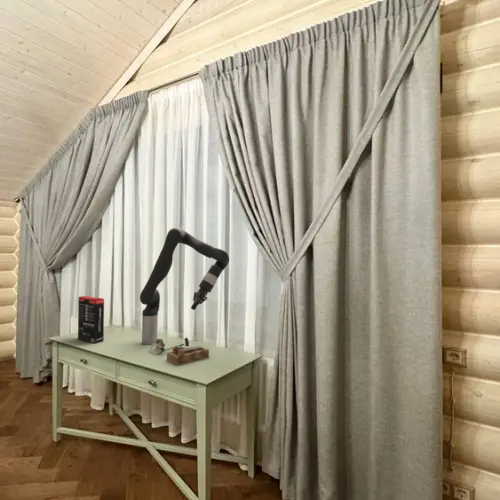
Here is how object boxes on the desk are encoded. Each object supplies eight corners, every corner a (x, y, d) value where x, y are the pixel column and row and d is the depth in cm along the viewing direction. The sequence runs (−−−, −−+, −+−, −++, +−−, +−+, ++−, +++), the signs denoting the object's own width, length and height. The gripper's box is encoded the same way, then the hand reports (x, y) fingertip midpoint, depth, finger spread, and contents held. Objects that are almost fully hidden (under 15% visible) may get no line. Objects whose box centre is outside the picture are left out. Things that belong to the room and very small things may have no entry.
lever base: (197, 352, 190) (197, 341, 190) (208, 356, 183) (208, 344, 183) (166, 360, 175) (166, 347, 175) (177, 365, 168) (177, 352, 168)
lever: (197, 348, 185) (197, 345, 185) (200, 349, 183) (200, 347, 183) (175, 349, 175) (176, 346, 175) (178, 350, 173) (179, 348, 173)
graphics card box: (104, 341, 209) (105, 297, 209) (94, 344, 203) (95, 299, 203) (86, 337, 217) (87, 295, 217) (76, 339, 211) (77, 296, 211)
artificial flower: (191, 352, 194) (190, 337, 191) (151, 361, 185) (150, 345, 182) (187, 344, 202) (187, 330, 199) (149, 352, 193) (147, 337, 190)
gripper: (198, 277, 195) (182, 303, 190) (209, 280, 184) (192, 308, 179) (207, 284, 199) (192, 309, 194) (218, 287, 188) (202, 314, 183)
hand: (192, 309), depth 187 cm, fingers closed
